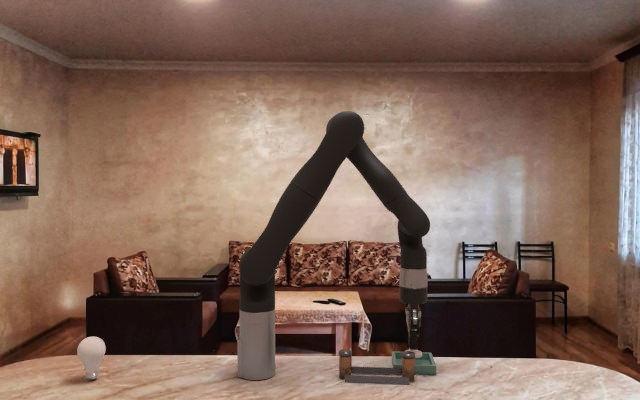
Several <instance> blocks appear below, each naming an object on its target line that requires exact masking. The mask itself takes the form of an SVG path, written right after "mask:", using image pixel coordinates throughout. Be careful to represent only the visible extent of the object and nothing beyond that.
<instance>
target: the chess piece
mask: <svg viewBox="0 0 640 400" xmlns="http://www.w3.org/2000/svg"><path fill="white" fill-rule="evenodd" d="M412 331H416V329H412ZM405 351H411V352H414V353H415V358H419V357H422V351H421V350H418V349H417V350H411V349H410V348H409V347H408V349H406V350H405Z"/></svg>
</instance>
